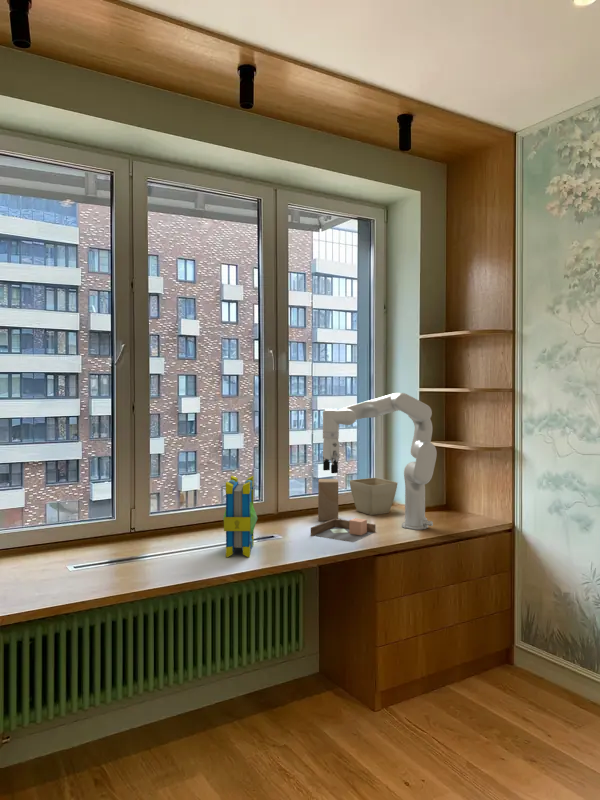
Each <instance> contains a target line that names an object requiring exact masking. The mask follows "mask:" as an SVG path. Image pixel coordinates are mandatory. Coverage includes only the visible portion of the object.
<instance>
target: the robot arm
mask: <svg viewBox="0 0 600 800" xmlns="http://www.w3.org/2000/svg"><path fill="white" fill-rule="evenodd" d="M398 411H399V412H402V413H403V414H406V415H407V416H408V418H409V419H411V421H412V423H413V427H414V432H413V437H412V441H411V445H410V446H411V447H410V454H411V456H412V457H413V459H415V461H410V462H408V463H407V464H406V465H405V467H404V470H403V477H404V478H403V479H404V489H405V490H404V493H405V494H404V508H405V509H404V522H402V523H401V527H402V528H404V529H407V530H415V531H416V530H419V531H420V530H426V529H428V528H429V527H432V526H433V525H434V522H433V521H432V520H428V518H427V517H426V485H427V484H428V483H429V482H430V481H431V480H432V478H433V475H434V470H435V466H436V461H437V455H438V454H437V453H438V452H437V448H436V446H435V445H434V444H433V443H432V436H433V422H432V420H431V418H432V415H433V413H432V412H433V410H432V408H431V406H430V405H428V404H426V403H425V402H422V401H421V400H419V399H417V398H415V397H413V396H411V395H409V394H407V393H405V392H394V393H390V394H387V395H383V396H380V397H377V398H373V399H370V400H369V399H368V400H366V401H362V402H359V403H355V404H351V405H348V406H346V407H342V408H339V409H332V408H328V409H327V408H326V409H324V410H323V412H322V439H323V445H322V462H323V463H322V470H323V471H330V473H331V474H338V472H339V461H340V443H339V442H340V441H339V438H340V437H339V436H340V435H339V434H340V429H339V428H340V425H342V426H343V425H344V426H351V425H353V424H354V423H355V422H356V421H358V420H362V419H368V418H371V419H373V418H377V417H380V416H384V415H387V414H390V413H393V412H394V413H395V412H398ZM330 461H331V462H330Z"/></svg>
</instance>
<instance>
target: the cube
mask: <svg viewBox="0 0 600 800" xmlns="http://www.w3.org/2000/svg"><path fill="white" fill-rule="evenodd" d="M348 521H349V533H350V534H356V535H362V534H365V533H367V523H368V519H366V518H359V517H358V518H357V517H355V518H352V519H348Z"/></svg>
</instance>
